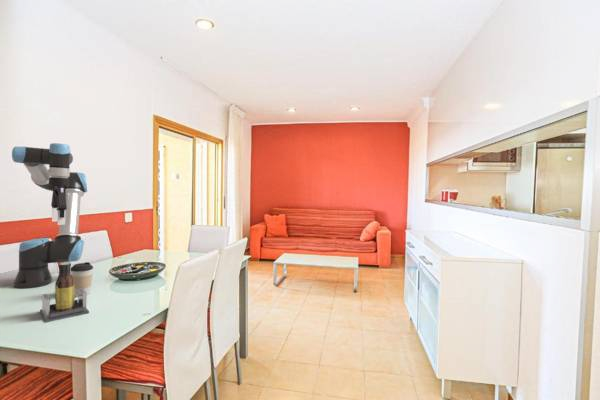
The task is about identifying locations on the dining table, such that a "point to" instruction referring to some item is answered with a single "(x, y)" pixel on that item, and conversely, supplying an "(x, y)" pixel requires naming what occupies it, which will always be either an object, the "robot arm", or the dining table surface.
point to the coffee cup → (82, 277)
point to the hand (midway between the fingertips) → (58, 223)
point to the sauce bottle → (64, 288)
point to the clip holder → (52, 315)
